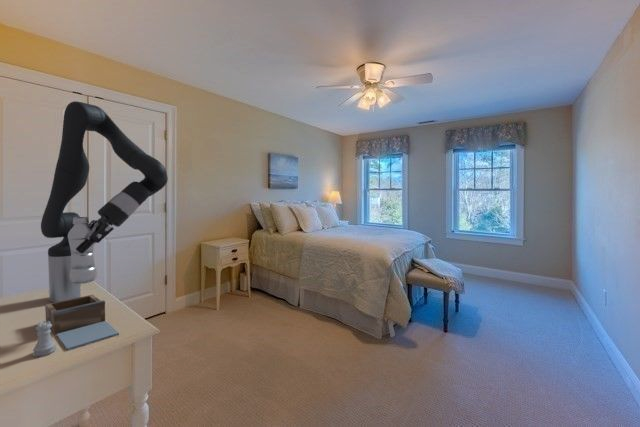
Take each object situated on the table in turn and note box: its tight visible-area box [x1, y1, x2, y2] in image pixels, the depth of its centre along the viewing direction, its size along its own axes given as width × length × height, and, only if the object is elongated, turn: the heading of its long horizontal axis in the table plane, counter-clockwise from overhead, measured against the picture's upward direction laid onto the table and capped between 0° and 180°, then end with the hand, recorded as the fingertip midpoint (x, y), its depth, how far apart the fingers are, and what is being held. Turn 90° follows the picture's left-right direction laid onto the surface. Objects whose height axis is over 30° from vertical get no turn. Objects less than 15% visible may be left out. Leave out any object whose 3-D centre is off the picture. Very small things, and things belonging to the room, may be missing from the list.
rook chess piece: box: [32, 320, 57, 358], centre depth 78 cm, size 4×4×8 cm
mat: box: [56, 320, 120, 351], centre depth 88 cm, size 12×12×1 cm
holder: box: [44, 294, 106, 336], centre depth 96 cm, size 13×12×7 cm
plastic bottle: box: [68, 216, 98, 284], centre depth 90 cm, size 6×7×20 cm
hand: (75, 249), depth 89 cm, fingers closed on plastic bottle, 6 cm apart
